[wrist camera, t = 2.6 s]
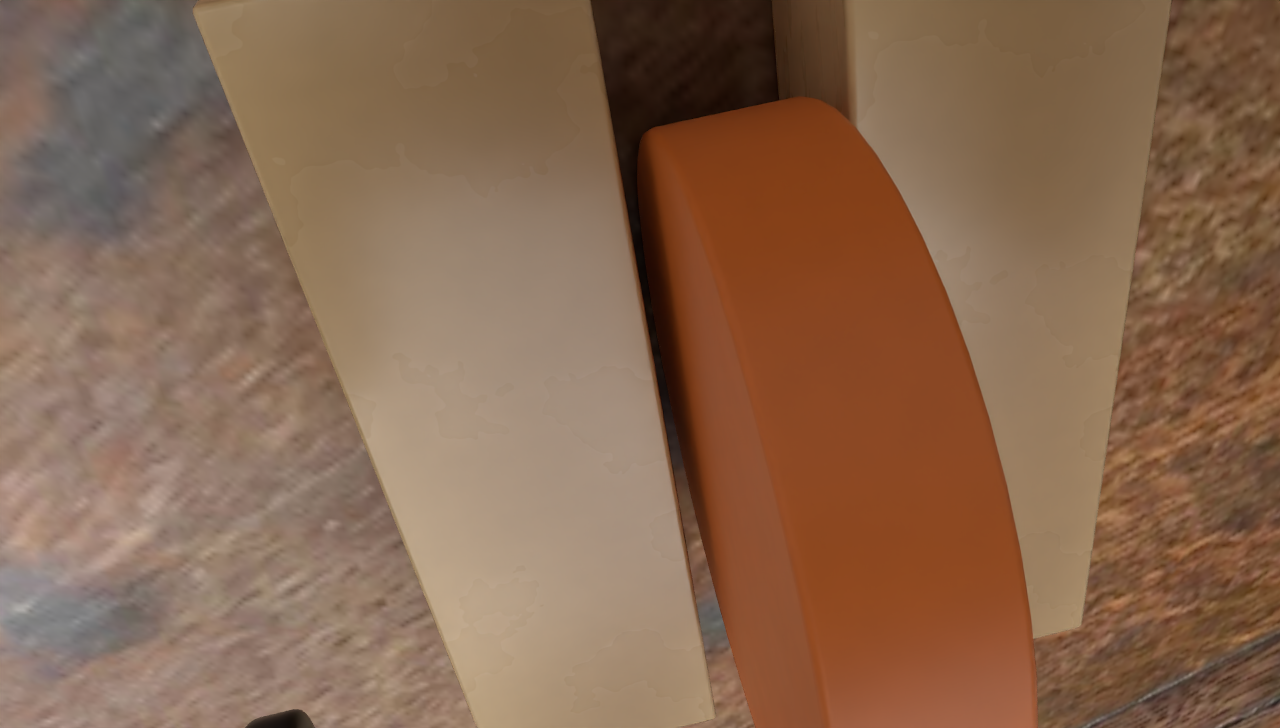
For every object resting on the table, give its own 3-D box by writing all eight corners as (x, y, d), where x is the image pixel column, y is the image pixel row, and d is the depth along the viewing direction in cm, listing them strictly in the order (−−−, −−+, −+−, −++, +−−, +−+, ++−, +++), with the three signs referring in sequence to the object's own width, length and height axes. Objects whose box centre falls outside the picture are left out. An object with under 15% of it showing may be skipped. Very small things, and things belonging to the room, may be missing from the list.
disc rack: (484, 630, 16) (495, 776, 14) (237, -64, 10) (188, 6, 8) (998, 506, 16) (1083, 629, 14) (1049, -225, 10) (1206, -198, 8)
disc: (684, 503, 15) (848, 1030, 9) (604, 25, 11) (811, 453, 5) (784, 479, 15) (1007, 986, 9) (743, -4, 11) (1097, 387, 5)
